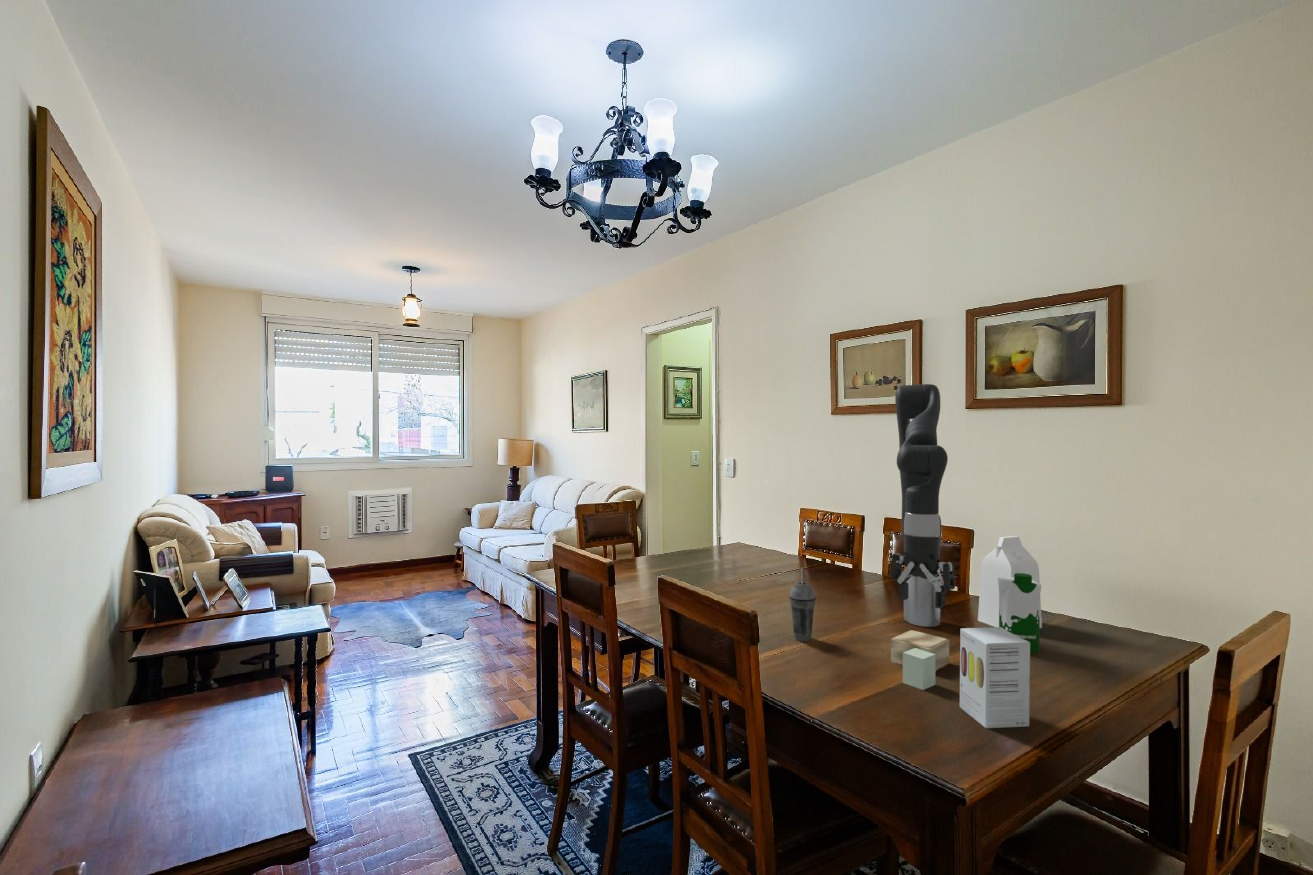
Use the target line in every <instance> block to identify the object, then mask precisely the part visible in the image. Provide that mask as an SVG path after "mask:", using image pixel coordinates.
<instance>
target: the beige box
mask: <svg viewBox="0 0 1313 875" xmlns="http://www.w3.org/2000/svg"><path fill="white" fill-rule="evenodd" d="M914 648H917V649H920V650H923V651H927V652H930V653H933V654H935V672H936V671H937V670H939V668H940V669H941V668H944V667H946V666H947V665H948V664H949V665H950V639H948V638H945V637H941V636H936V635H933V634H929V633H926V632H921V631H917V630H912V629H910V630H908V631H905V632H903V633H901V634H899V635H896V636H893V637H892V638H890V662H891V663H893V664H896V663H897V665H900V664H902V665H901V666H903V652H906V651H908V650H911V649H914ZM946 664H947V665H946Z"/></svg>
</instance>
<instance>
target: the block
mask: <svg viewBox="0 0 1313 875" xmlns="http://www.w3.org/2000/svg"><path fill="white" fill-rule="evenodd" d="M902 684H904V685H905V684H906V685H907V686H910V687H913V688H915V689H919V690H922V691H924V690H927V689H929V688H932V687H933V686H936V671H935V654H933V653H930V652H927V651H923V650H920V649H917V648H914V649H911V650H908V651H906V652H903V665H902Z"/></svg>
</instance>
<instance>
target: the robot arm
mask: <svg viewBox="0 0 1313 875" xmlns="http://www.w3.org/2000/svg"><path fill="white" fill-rule="evenodd" d="M894 399H895V401H894V402H895V412H896V421H897V429H898V439H899V440H898V441H899V442H898V443H899V444H898V445H899V449H898V453H897V455H896V466H897V469H898V470H899V475H900V476H899V477H900V487H901V522H900V523H901V536H902V538H903V552H904V555H903V554H902V553H901V552H898V553H893V554H892V555H891V561H890V562H891V564H890V579H891V580H895V581H896V582H897V583H898V596H899V597H900V600H902V601H903V621H905V622H907V623H909V624H911V625H914V626H919V627H928V628H929V627H930V628H935V627H938V626H940V625H941V609H943V608H944V606H946V602H947V601H946V599H947V597H946V595H947V593H946V592H948V591H950V590H951V591H952V590H954V589H956V582H955V581H956V580H955V578H956V577H955V565H954V564H955V563H953V562H952V561H948V562H944V561H941V537H942V536H941V535H942V519H941V516H940V513H939V509H940V508H939V504H940V503H939V502H940V500H939V497H940V489H941V484H942V481H943V477H944V475H945V472H946V468H947V465H948V461H949V460H948V459H949V458H948V453H947V451H946V450H945V448H944V447H943V446H941V445H939V444H938V435H937V430H938V428H937V427H938V424H939V419H940V414H941V393H940V389H939V388H938V387H937V385H935V384H931V383H928V384H927V383H924V384H921V383H920V384H907V385H899V386H898V387H897V389H896V391H895V397H894ZM903 563H904V565H905V566H906V567H905V568H904V570H903V571H902V566H903ZM941 572H942V574H941Z"/></svg>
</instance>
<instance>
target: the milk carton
mask: <svg viewBox="0 0 1313 875" xmlns="http://www.w3.org/2000/svg"><path fill="white" fill-rule="evenodd" d="M998 587H999V627H1001V628H1003V629H1005V630H1006V631H1008V632H1010V633H1012V634H1014V635H1016V636H1018V637H1020V638H1022V639H1024V640H1026V641H1028V642H1030V654H1040V629H1041V628H1040V599H1041V590H1042V584H1041V583H1040V584H1039V583H1037V582H1035V581H1033V580H1032V576H1031V575H1029V574H1023V573H1015V574H1014V578H1001V577H998Z"/></svg>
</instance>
